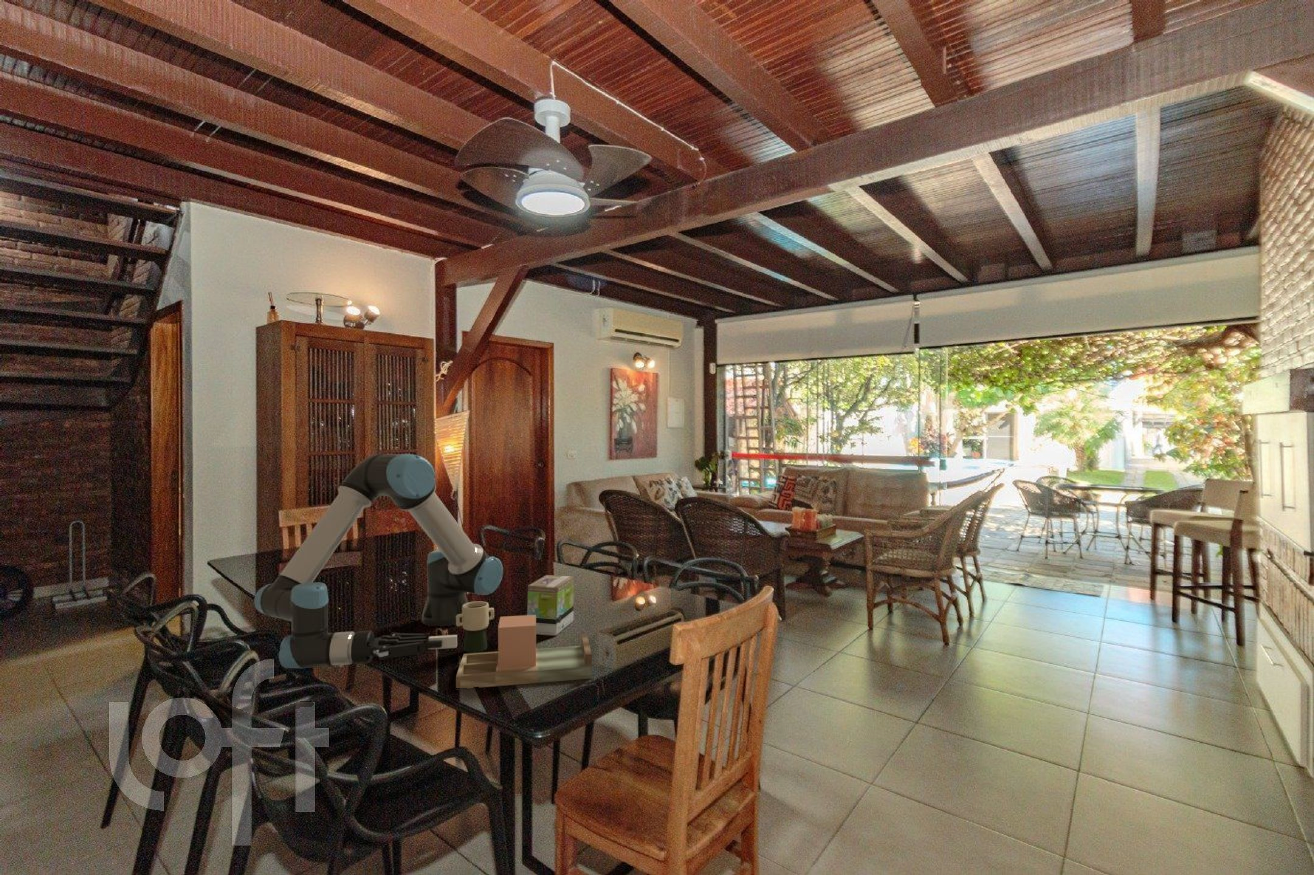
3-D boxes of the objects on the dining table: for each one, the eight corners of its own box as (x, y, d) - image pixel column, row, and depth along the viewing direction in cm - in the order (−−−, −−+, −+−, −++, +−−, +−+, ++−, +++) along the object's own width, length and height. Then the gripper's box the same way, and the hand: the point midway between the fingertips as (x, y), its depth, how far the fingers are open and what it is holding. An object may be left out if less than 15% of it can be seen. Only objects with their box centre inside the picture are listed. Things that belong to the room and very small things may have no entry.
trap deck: (463, 665, 158) (463, 642, 158) (587, 656, 164) (586, 634, 164) (456, 689, 143) (455, 663, 143) (591, 678, 149) (591, 654, 149)
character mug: (489, 643, 174) (488, 598, 174) (499, 650, 169) (499, 603, 168) (451, 652, 167) (451, 605, 167) (461, 659, 162) (460, 611, 162)
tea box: (557, 636, 180) (557, 586, 180) (526, 634, 182) (525, 585, 182) (574, 621, 195) (574, 575, 195) (545, 619, 197) (544, 573, 197)
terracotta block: (500, 655, 157) (500, 616, 157) (536, 652, 158) (535, 614, 158) (498, 668, 148) (498, 627, 148) (535, 665, 150) (535, 625, 149)
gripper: (362, 653, 152) (460, 647, 156) (345, 673, 139) (453, 666, 144) (361, 623, 152) (460, 618, 156) (345, 641, 139) (452, 634, 144)
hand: (456, 641), depth 150 cm, fingers closed
